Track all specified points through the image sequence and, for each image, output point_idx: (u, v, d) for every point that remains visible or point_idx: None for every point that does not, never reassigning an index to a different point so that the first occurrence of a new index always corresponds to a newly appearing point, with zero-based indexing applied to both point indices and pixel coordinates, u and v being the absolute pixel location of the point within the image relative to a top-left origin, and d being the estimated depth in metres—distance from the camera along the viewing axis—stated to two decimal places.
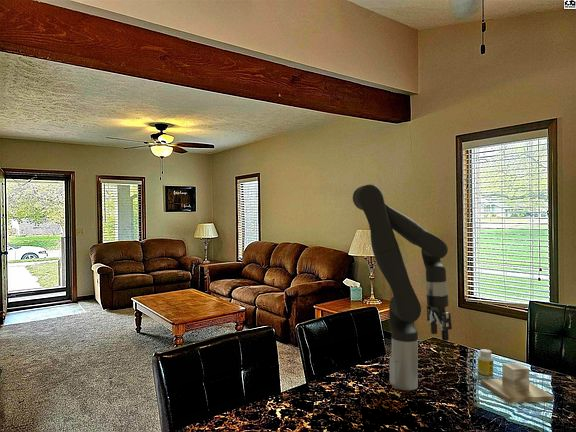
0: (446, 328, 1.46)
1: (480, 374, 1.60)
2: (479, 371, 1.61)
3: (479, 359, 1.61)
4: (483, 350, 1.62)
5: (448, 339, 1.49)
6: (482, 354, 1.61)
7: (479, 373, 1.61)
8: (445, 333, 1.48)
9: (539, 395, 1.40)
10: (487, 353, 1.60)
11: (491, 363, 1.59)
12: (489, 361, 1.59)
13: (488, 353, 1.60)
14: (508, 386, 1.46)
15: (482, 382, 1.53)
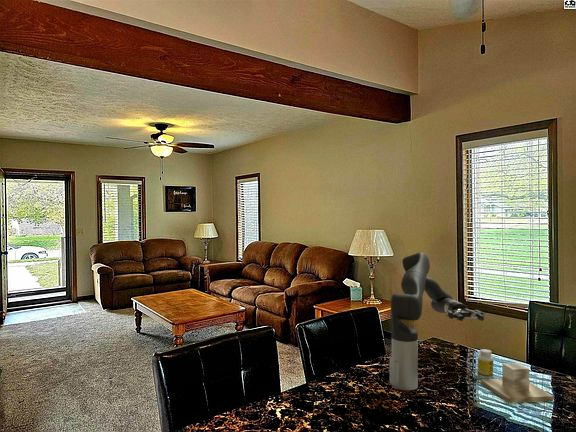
0: None
1: (480, 374, 1.60)
2: (479, 371, 1.61)
3: (479, 359, 1.61)
4: (483, 350, 1.62)
5: (482, 320, 1.73)
6: (482, 354, 1.61)
7: (479, 373, 1.61)
8: None
9: (539, 395, 1.40)
10: (487, 353, 1.60)
11: (491, 363, 1.59)
12: (489, 361, 1.59)
13: (488, 353, 1.60)
14: (508, 386, 1.46)
15: (482, 382, 1.53)
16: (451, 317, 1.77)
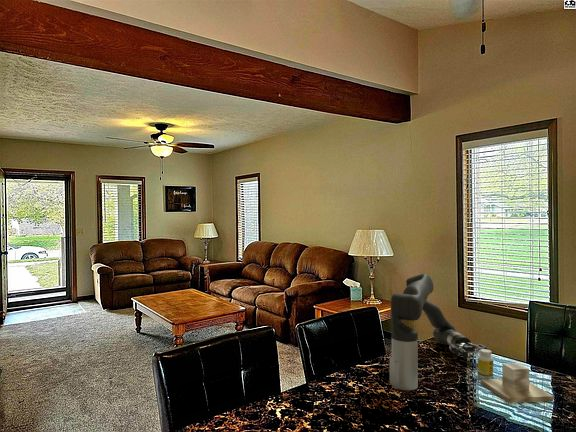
0: None
1: (480, 374, 1.60)
2: (479, 371, 1.61)
3: (479, 359, 1.61)
4: (483, 350, 1.62)
5: None
6: (482, 354, 1.61)
7: (479, 373, 1.61)
8: None
9: (539, 395, 1.40)
10: (487, 353, 1.60)
11: (491, 363, 1.59)
12: (489, 361, 1.59)
13: (488, 353, 1.60)
14: (508, 386, 1.46)
15: (482, 382, 1.53)
16: (454, 352, 1.74)
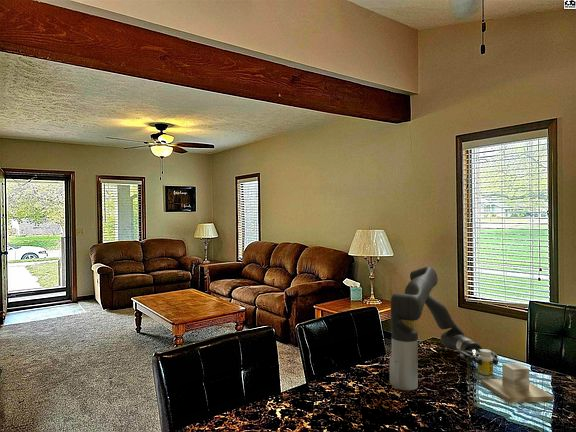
0: None
1: (480, 374, 1.60)
2: (479, 371, 1.61)
3: None
4: (483, 350, 1.62)
5: None
6: (482, 354, 1.61)
7: (479, 373, 1.61)
8: None
9: (539, 395, 1.40)
10: (487, 353, 1.60)
11: (491, 363, 1.59)
12: (489, 361, 1.59)
13: (488, 353, 1.60)
14: (508, 386, 1.46)
15: (482, 382, 1.53)
16: (469, 360, 1.63)
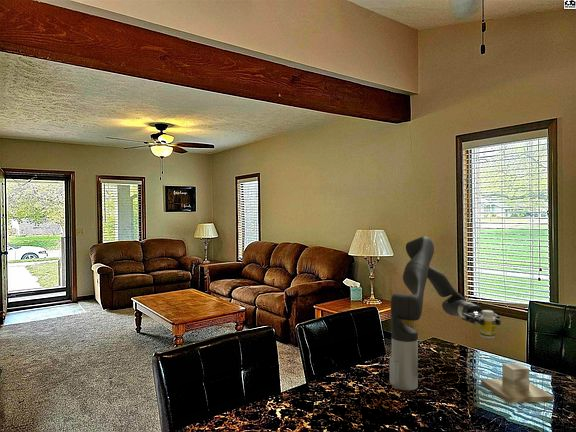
0: None
1: (482, 334, 1.59)
2: (481, 332, 1.60)
3: None
4: (485, 310, 1.61)
5: None
6: (484, 314, 1.59)
7: (481, 333, 1.60)
8: None
9: (539, 395, 1.40)
10: (489, 313, 1.58)
11: (493, 323, 1.58)
12: (491, 321, 1.58)
13: (490, 313, 1.58)
14: (508, 386, 1.46)
15: (482, 382, 1.53)
16: (471, 321, 1.62)
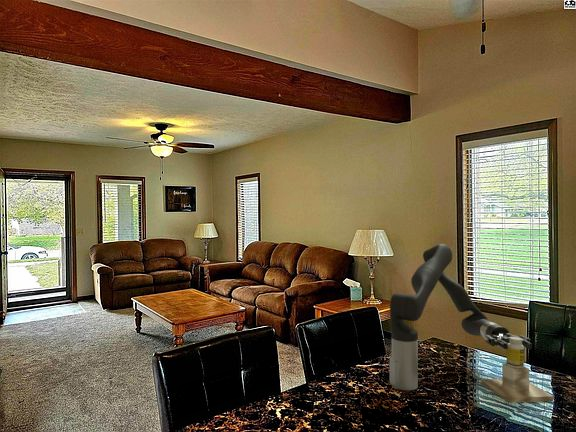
0: None
1: (509, 364, 1.46)
2: (508, 361, 1.46)
3: (508, 347, 1.46)
4: (513, 337, 1.47)
5: None
6: (512, 342, 1.46)
7: (508, 363, 1.46)
8: None
9: (539, 395, 1.40)
10: (517, 341, 1.45)
11: (522, 352, 1.45)
12: (520, 350, 1.44)
13: (519, 341, 1.45)
14: (508, 386, 1.46)
15: (482, 382, 1.53)
16: (492, 344, 1.49)
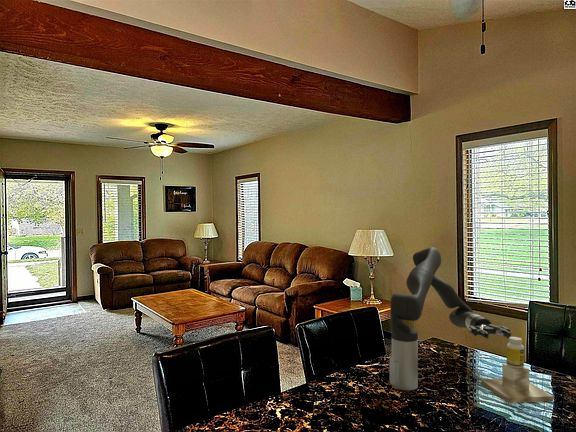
0: None
1: (509, 364, 1.46)
2: (508, 361, 1.46)
3: (508, 348, 1.46)
4: (513, 338, 1.47)
5: None
6: (512, 342, 1.46)
7: (508, 363, 1.46)
8: None
9: (539, 395, 1.40)
10: (517, 341, 1.45)
11: (522, 352, 1.45)
12: (520, 350, 1.44)
13: (518, 341, 1.45)
14: (508, 386, 1.46)
15: (482, 382, 1.53)
16: (475, 334, 1.62)
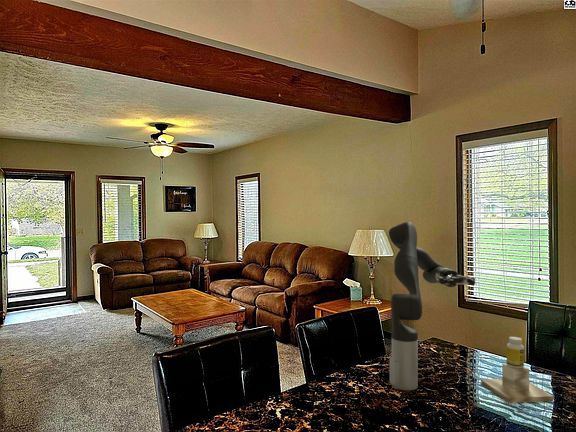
0: None
1: (509, 364, 1.46)
2: (508, 361, 1.46)
3: (508, 348, 1.46)
4: (512, 338, 1.47)
5: None
6: (512, 342, 1.46)
7: (508, 363, 1.46)
8: None
9: (539, 395, 1.40)
10: (517, 341, 1.45)
11: (522, 352, 1.45)
12: (520, 350, 1.44)
13: (518, 341, 1.45)
14: (508, 386, 1.46)
15: (482, 382, 1.53)
16: (442, 282, 1.73)
